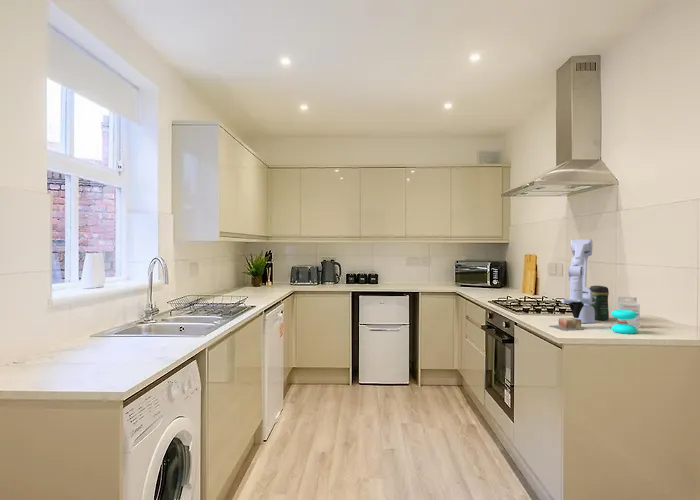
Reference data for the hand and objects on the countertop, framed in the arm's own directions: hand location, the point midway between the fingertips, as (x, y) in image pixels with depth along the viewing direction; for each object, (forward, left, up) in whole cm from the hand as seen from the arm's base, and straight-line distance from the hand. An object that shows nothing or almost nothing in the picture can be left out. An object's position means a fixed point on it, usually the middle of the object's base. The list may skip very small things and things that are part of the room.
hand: (576, 317), depth 216 cm
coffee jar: (-30, -21, -5) cm, 37 cm away
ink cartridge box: (-26, +3, -5) cm, 27 cm away
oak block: (-1, 0, -3) cm, 3 cm away
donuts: (-14, +15, -5) cm, 21 cm away
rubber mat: (+6, 0, -5) cm, 7 cm away
